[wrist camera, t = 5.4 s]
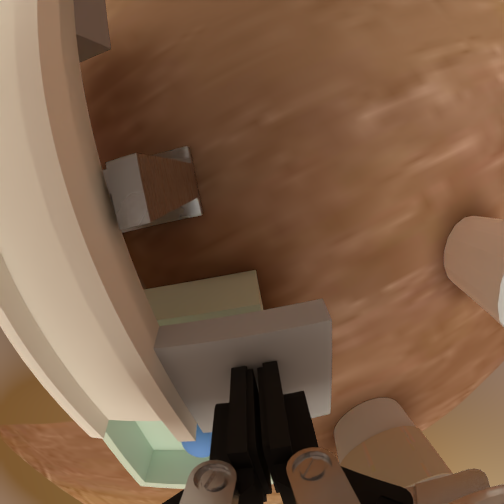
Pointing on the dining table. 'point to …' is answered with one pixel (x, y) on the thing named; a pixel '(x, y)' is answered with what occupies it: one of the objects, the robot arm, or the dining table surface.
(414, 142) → the dining table surface
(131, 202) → the lever stand
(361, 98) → the dining table surface
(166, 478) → the bin
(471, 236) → the shot glass
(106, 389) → the lever
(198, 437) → the ball
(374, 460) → the coffee cup
